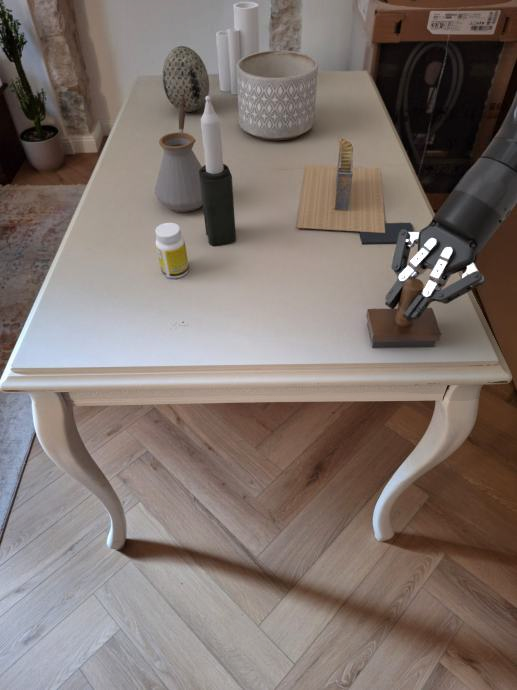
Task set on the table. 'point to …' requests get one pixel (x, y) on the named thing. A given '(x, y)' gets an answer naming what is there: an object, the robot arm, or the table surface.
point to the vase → (237, 44)
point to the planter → (276, 93)
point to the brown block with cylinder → (403, 322)
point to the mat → (385, 234)
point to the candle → (216, 183)
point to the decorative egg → (185, 78)
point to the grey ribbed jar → (179, 170)
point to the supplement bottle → (171, 250)
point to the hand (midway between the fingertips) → (398, 312)
